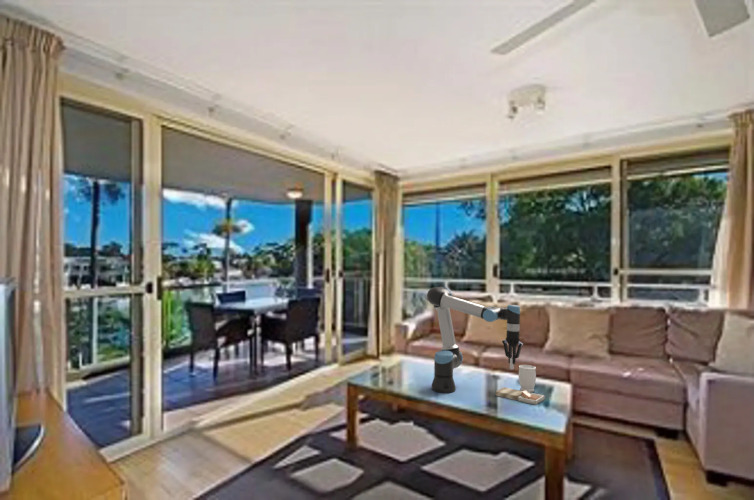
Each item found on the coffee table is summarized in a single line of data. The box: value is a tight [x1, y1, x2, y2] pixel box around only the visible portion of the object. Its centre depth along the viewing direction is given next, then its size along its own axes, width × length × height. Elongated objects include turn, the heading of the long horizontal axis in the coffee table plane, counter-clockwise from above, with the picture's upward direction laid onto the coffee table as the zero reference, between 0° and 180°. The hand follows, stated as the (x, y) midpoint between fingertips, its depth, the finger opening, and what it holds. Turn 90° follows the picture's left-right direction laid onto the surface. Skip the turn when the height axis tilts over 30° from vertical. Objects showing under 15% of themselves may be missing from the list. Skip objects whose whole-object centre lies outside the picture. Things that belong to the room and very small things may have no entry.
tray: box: [517, 392, 546, 406], centre depth 260 cm, size 10×14×2 cm
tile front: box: [529, 395, 540, 400], centre depth 259 cm, size 4×4×2 cm
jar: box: [518, 364, 537, 393], centre depth 280 cm, size 11×10×15 cm
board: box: [495, 386, 523, 401], centre depth 268 cm, size 14×12×2 cm
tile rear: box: [521, 390, 531, 399], centre depth 262 cm, size 4×4×2 cm
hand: (511, 368), depth 271 cm, fingers closed
